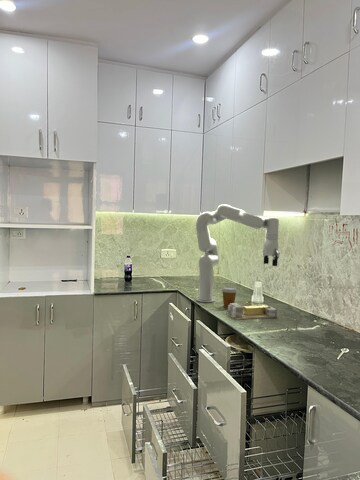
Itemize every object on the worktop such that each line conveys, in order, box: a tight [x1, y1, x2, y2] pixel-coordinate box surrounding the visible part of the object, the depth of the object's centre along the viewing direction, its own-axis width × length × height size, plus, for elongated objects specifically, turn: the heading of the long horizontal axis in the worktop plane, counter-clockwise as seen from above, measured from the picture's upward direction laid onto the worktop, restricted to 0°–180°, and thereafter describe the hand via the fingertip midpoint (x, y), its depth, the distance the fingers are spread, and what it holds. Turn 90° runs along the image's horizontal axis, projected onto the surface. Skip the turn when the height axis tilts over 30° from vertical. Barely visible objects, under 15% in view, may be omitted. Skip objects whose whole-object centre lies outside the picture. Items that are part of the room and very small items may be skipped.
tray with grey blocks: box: [225, 302, 278, 321], centre depth 216 cm, size 14×26×7 cm, turn 109°
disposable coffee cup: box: [221, 286, 238, 309], centre depth 234 cm, size 10×10×12 cm
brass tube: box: [242, 304, 269, 315], centre depth 217 cm, size 4×15×4 cm, turn 109°
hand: (270, 264), depth 229 cm, fingers open, 9 cm apart
